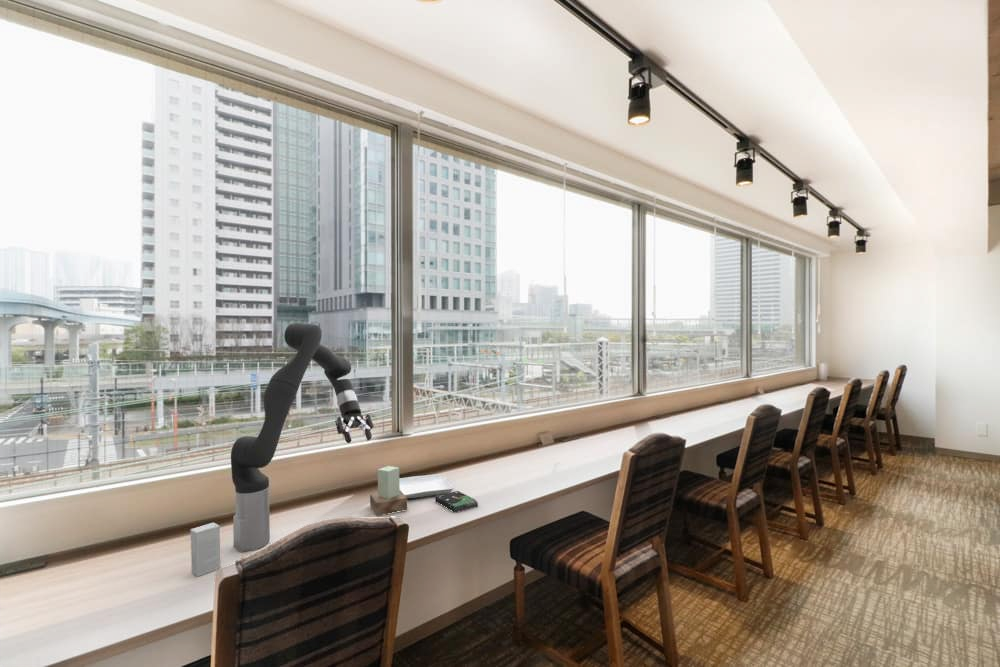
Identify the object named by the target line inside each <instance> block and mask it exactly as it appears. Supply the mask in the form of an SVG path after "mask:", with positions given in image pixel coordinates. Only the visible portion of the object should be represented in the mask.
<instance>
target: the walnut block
mask: <svg viewBox="0 0 1000 667" xmlns="http://www.w3.org/2000/svg"><path fill="white" fill-rule="evenodd" d="M369 498H370V499H369V505H370V506H371V507H370V506H369V507H370V508H371V509H373V510H374V511H373V510H372V511H373V513H374V512H375V513H376V514H375V513H374V514H375V516H376V517H381V516H384V515H383V514H386V515H389V514H388V513H392V512H397V511H402V510H407V511H408V499H407V497H406V496H405V495H404V494H403V493H402V492H401V491H400V495H398V496H395V497H392V498H390V499H386V498H382V497H378V492H374V493H370V494H369ZM402 512H403V511H402ZM397 513H398V512H397ZM392 514H393V513H392Z"/></svg>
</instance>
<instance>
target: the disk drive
mask: <svg viewBox="0 0 1000 667" xmlns="http://www.w3.org/2000/svg"><path fill="white" fill-rule="evenodd" d="M434 497H435V499H434V500H435V501H436V502H435V501H434V502H435V503H437V502H438V503H440V504H442V505H443V506H442V505H441V506H442V507H444V506H445V507H447V508H448V509H447V508H446V509H447V510H449V509H450V510H452V511H453V512H452V511H451V512H452V513H454V512H456V513H459V512H458V511H460V512H463V511H462V510H464V511H466V509H467V510H471V509H474V507H475V508H478V506H479V505H478V504H479V503H478V501H477V500H476V499H475V498H473V497H471V496H469V495H467V494H465V493H463V492H461V491H459V490H456V491H450V492H448V493H445V494H441V495H434ZM438 503H437V504H438ZM440 504H439V505H440ZM445 507H444V508H445ZM470 508H471V509H470ZM450 510H449V511H450Z"/></svg>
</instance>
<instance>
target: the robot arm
mask: <svg viewBox="0 0 1000 667" xmlns="http://www.w3.org/2000/svg"><path fill="white" fill-rule="evenodd" d="M283 334H284V342H285V343H286V345H287V347H290V348H292V349H293V350H296V351H297V353H296V354H295V355H294V356H293V357H292V358H291V359H290V360H289V361H288V362H287V363H286V364H284V365H283V366H282V367H280V369H277V371H276V372H275V373H274V374H273V375H272V376H271V378H270V380H269V382H268V384H267V387H266V389H265V390H264V394H263V397H262V398H263V409H264V421H263V424H262V427H261V429H260V431H259V433H258V435H257V436H253V435H250V436H249V435H244V436H241V437H238V439H236V441H235V442H234V443H233V444H232V447H231V452H230V467H231V479H232V483H233V484H234V487H235V488H234V489H235V491H234V492H235V496H234V497H235V514H234V515H233V516H232V517H233V518H232V520H233V521H232V523H233V526H232V527H233V529H232V530H233V536H232V537H233V547H234V548H235V549H236V550H238V551H239V552H240V553H242V552H246V551H247V552H248V551H254V550H258V549H262V548H264V547H265V546H267V545H269V543H270V542H269V541H270V540H271V533H270V531H271V530H270V527H271V526H270V479H269V477H268V476H267V475H266V474H264V473H263V472H261V470H260V469H263V468H265V467H266V466H268V465H269V464H270V463H271V461H272V460H273V458H274V456H275V453H276V450H277V448H278V447H277V446H278V445H279V440H280V436H281V434H282V431H283V429H284V428H283V427H284V425H285V422H286V420H287V417H288V414H289V412H290V410H291V407H292V405H293V403H294V400H295V398H296V396H297V393H298V390H299V388H300V386H301V383H302V380H303V378H304V376H305V373H306V371H307V369H308V367H309V365H310V363H311V361H312V360H313V361H314V362H315V363H317V365H319V366H320V367H321V369H323V372H324V375H325V377H326V378H327V380H328V381H329V382H330V384H331V385H332V387H333V389H334V393H335V396H336V402H337V405H338V408H339V412H340V415H341V416H338V417H337V418H336V419H335V426H336V431H337V433H338V434H339V435H340V434H341V435H343V437H344V440H345V442H346V443H347V444H351V443H352V437H351V434H350V432H349V430H350V429H354V428H355V429H358V428H359V430H362V431H364V435H365V437H366V441H367V442H368V441H371V439H372V438H373V437H372V436H373V435H372V432H371V430H372V429H374V423H373V421H372V419H371V415H370V414H366V415H363V414H362V410H361V407H360V406H361V405H360V404H359V400H358V397H357V395H356V393H355V390H354V387H353V384H352V381H351V380H350V379H348V378H343V379H340V378H342V377H345V376H347V375H349V374H350V373H351V372H352V364H351V363H350V362H349V360H348V359H347V358H344V357H343V356H340V355H338V354H337V355H336V354H335V353H334V352H333V351H332V350H331V349H330V348H329V347H327V346H325V345H323V344H321V341H322V335H323V333H322V329H321V327H320V326H319V325H318V324H313V323H301V322H293V323H290V324H288V325H287V327H286V328H285V331H284V333H283ZM343 423H344V424H345V426H343Z"/></svg>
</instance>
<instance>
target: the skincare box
mask: <svg viewBox="0 0 1000 667" xmlns="http://www.w3.org/2000/svg"><path fill="white" fill-rule="evenodd" d="M220 527H221V526H220V525H219V524H217V523H215V522H210V523H206V524H204V525H201V526H197V527H194V528H190V558H191V559H190V560H191V561H190V562H191V573H192V574H193V575H194V576H196V577H200V576H203V575H207V574H209V573H211V572H214V571H217V570H219V568H220V569H221V568H222V567H221V562H222V560H221V530H220V529H221V528H220Z"/></svg>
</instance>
